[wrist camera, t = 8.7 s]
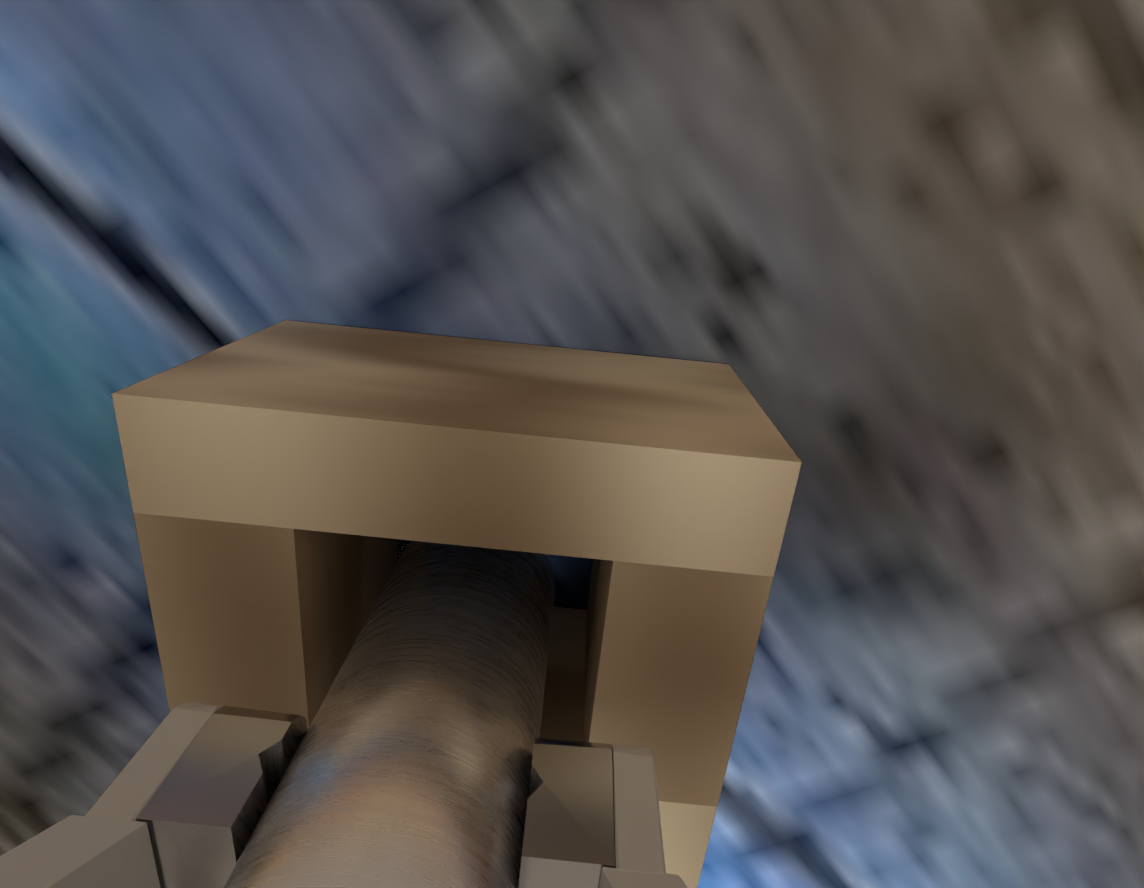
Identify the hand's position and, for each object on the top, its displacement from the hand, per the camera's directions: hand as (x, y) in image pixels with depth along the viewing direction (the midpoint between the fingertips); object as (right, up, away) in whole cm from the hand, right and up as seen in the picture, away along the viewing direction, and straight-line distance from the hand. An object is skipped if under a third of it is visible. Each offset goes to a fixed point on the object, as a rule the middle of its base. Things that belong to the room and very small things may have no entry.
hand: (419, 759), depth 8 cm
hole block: (0, -2, +8) cm, 8 cm away
